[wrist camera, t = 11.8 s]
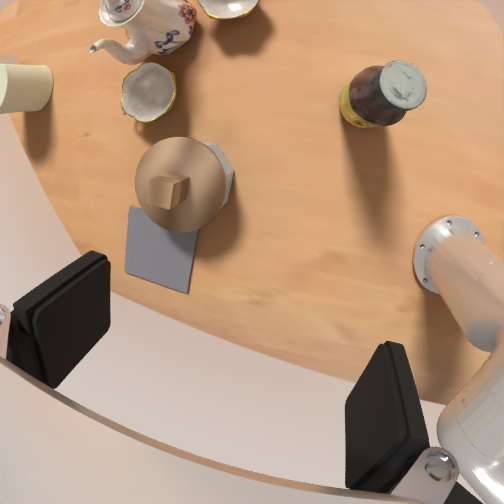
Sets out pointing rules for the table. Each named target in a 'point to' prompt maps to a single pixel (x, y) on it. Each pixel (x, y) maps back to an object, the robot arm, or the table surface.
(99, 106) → the table surface
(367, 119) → the sauce bottle
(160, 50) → the chinaware
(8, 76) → the can
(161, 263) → the mat
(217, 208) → the lid
